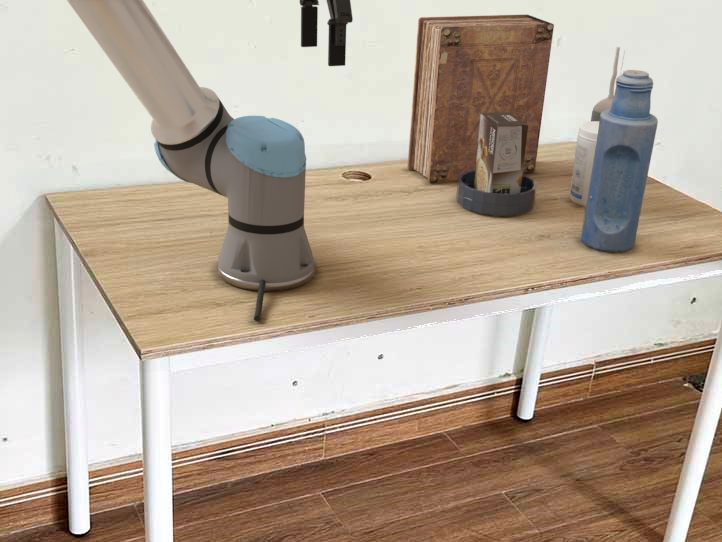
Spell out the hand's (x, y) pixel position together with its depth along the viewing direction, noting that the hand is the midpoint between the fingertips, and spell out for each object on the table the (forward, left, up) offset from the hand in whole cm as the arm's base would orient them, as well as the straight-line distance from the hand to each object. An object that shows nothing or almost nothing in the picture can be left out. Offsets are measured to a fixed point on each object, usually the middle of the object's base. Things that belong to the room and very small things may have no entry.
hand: (322, 55), depth 178 cm
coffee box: (-2, -35, -28) cm, 45 cm away
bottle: (-25, -46, -28) cm, 59 cm away
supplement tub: (-5, -55, -28) cm, 62 cm away
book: (+17, -39, -28) cm, 51 cm away
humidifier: (+14, -68, -28) cm, 75 cm away
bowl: (-2, -35, -28) cm, 45 cm away
